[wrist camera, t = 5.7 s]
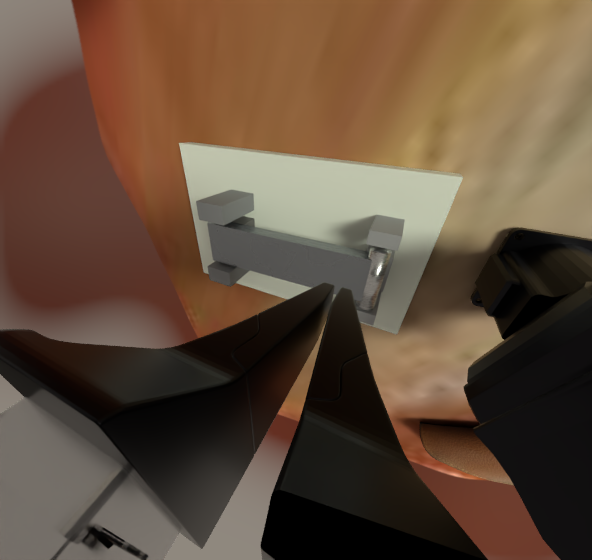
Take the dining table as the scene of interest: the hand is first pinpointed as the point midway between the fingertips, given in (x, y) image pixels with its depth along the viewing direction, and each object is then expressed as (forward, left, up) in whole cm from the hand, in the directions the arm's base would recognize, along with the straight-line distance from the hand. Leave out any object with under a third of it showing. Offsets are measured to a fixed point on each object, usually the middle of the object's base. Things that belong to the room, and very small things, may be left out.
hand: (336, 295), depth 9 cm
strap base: (+7, +4, -13) cm, 15 cm away
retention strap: (+6, +4, -9) cm, 11 cm away
